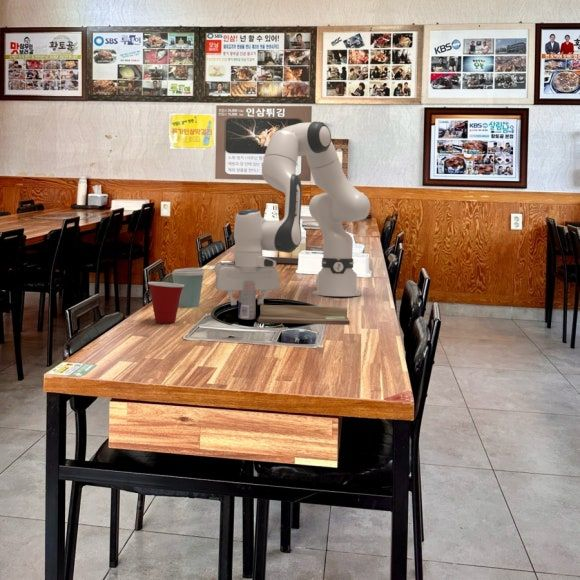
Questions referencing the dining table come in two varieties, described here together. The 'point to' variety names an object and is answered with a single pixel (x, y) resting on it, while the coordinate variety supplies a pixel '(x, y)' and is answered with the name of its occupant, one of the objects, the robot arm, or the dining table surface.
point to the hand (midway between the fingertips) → (247, 304)
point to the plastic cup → (165, 300)
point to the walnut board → (303, 314)
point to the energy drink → (247, 301)
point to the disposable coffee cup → (189, 286)
